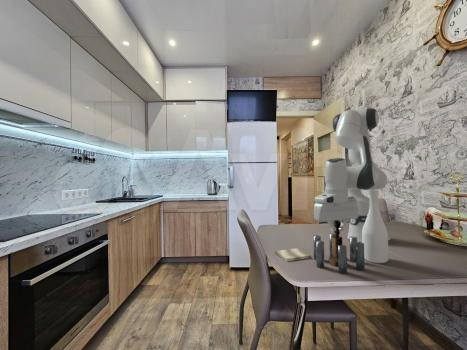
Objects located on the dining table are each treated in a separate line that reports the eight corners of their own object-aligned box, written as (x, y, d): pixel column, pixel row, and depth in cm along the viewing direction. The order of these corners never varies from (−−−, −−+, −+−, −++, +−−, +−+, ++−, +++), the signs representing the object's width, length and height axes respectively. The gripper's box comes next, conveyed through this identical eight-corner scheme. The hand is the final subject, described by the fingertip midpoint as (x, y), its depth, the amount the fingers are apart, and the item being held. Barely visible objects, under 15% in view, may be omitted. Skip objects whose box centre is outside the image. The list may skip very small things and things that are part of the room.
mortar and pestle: (326, 261, 100) (325, 219, 100) (340, 260, 101) (340, 218, 101) (334, 267, 94) (333, 222, 94) (349, 266, 94) (348, 221, 94)
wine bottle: (358, 256, 106) (357, 189, 106) (379, 255, 106) (378, 189, 106) (369, 264, 97) (368, 190, 97) (393, 263, 96) (392, 190, 96)
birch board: (297, 250, 115) (296, 248, 115) (311, 258, 105) (310, 255, 105) (275, 253, 111) (274, 251, 111) (287, 261, 101) (287, 258, 101)
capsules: (341, 254, 109) (340, 232, 109) (374, 268, 92) (374, 242, 92) (304, 259, 103) (303, 236, 103) (333, 275, 86) (332, 248, 86)
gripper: (350, 195, 104) (351, 227, 104) (311, 197, 97) (311, 231, 97) (362, 196, 98) (362, 230, 98) (321, 199, 91) (321, 235, 91)
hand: (337, 230), depth 97 cm, fingers closed on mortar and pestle, 2 cm apart
